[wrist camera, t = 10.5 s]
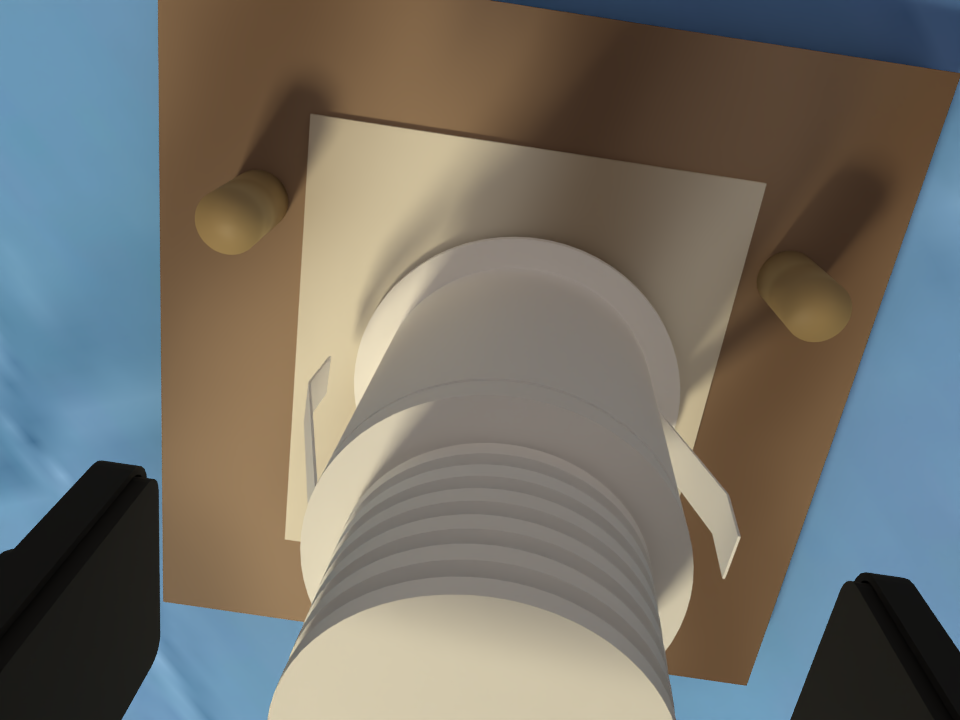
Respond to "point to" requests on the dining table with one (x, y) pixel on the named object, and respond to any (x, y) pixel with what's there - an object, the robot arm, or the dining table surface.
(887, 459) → the dining table surface
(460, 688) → the downlight
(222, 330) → the pin board
